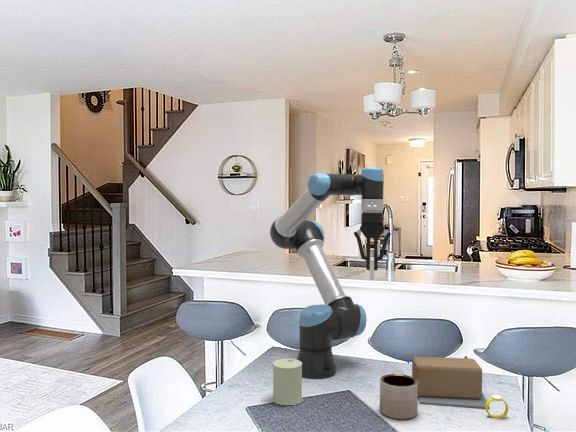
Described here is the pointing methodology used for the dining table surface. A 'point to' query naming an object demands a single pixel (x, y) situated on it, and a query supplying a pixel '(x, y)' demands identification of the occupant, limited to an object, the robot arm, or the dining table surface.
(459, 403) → the mat
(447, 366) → the wooden block
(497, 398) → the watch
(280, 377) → the can
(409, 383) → the planter
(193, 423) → the dining table surface
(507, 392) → the dining table surface
